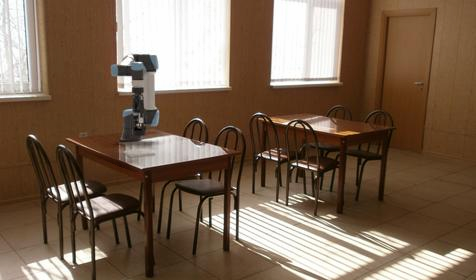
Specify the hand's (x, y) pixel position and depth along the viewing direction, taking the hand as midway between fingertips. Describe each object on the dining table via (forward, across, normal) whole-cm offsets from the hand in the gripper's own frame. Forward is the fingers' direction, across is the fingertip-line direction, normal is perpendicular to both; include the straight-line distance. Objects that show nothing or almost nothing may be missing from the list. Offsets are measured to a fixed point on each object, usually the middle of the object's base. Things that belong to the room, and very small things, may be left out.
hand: (138, 121), depth 302 cm
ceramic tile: (+21, 0, 0) cm, 21 cm away
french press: (+9, 0, 0) cm, 9 cm away
